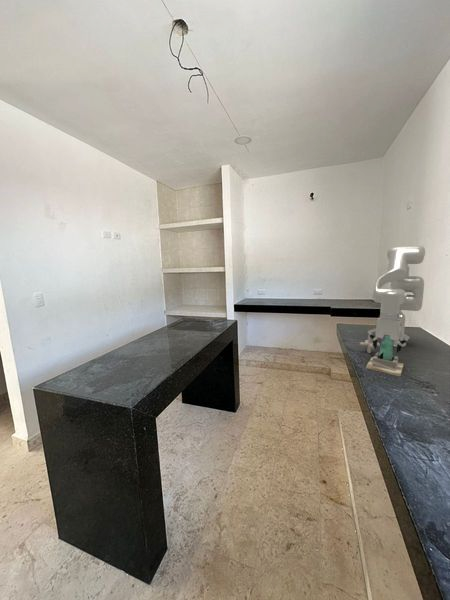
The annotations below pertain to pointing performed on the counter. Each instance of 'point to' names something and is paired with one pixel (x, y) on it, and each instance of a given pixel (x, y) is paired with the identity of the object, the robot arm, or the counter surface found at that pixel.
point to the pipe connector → (369, 344)
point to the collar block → (385, 365)
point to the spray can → (386, 348)
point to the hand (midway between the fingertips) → (386, 349)
